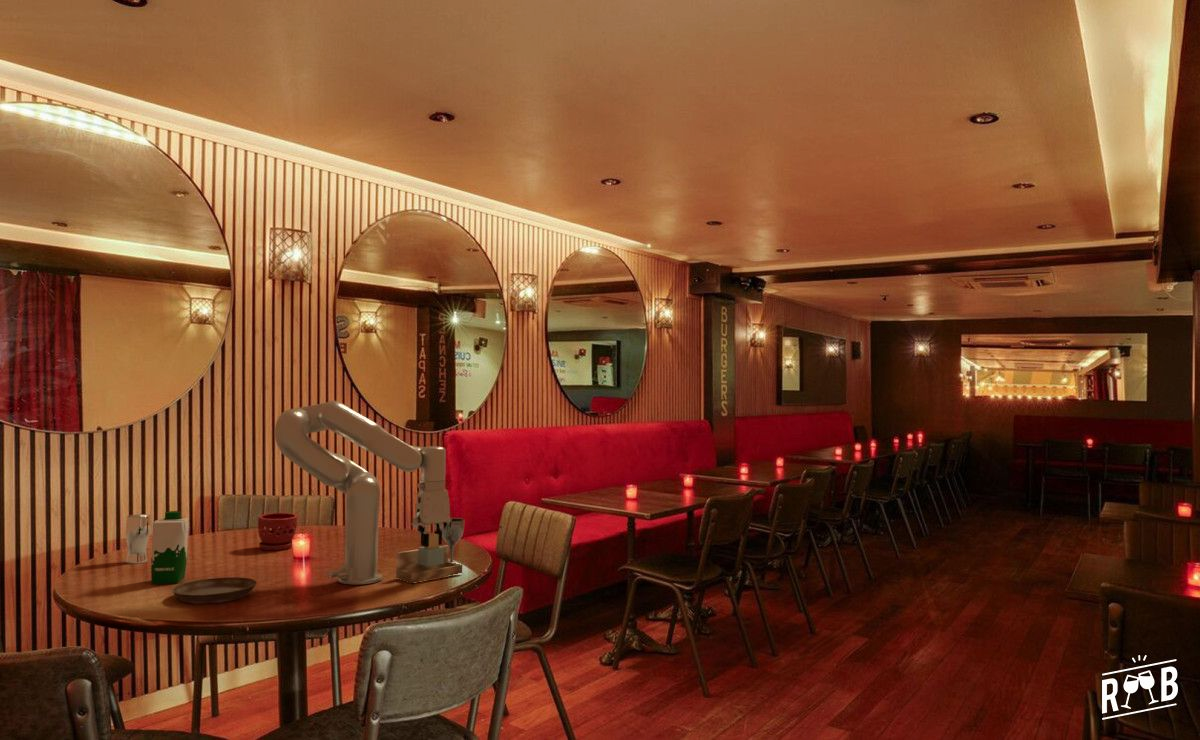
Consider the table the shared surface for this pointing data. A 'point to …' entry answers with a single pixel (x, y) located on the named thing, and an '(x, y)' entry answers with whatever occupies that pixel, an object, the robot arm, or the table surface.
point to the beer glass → (137, 537)
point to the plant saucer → (214, 590)
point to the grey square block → (431, 552)
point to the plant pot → (276, 530)
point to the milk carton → (169, 549)
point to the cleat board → (423, 567)
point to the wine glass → (453, 533)
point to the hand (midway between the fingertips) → (431, 544)
